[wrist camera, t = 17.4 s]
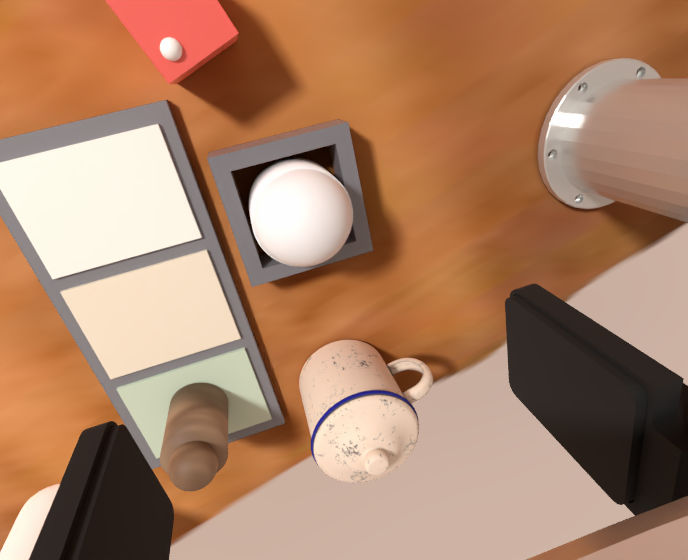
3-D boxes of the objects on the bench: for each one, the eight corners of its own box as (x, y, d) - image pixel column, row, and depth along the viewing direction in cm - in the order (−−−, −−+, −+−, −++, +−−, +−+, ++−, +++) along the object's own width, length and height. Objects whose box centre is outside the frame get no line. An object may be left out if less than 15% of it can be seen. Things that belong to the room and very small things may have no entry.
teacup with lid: (322, 426, 45) (350, 528, 35) (278, 366, 41) (296, 461, 31) (423, 370, 45) (481, 454, 35) (390, 304, 41) (445, 377, 31)
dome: (328, 146, 32) (353, 161, 26) (348, 233, 35) (374, 266, 29) (235, 171, 31) (238, 193, 25) (264, 258, 34) (272, 296, 28)
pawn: (219, 375, 38) (215, 449, 31) (235, 417, 41) (235, 496, 33) (161, 392, 38) (143, 471, 30) (180, 433, 40) (168, 517, 32)
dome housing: (338, 119, 33) (348, 122, 31) (363, 238, 38) (373, 250, 35) (208, 152, 32) (207, 158, 29) (250, 272, 37) (252, 287, 34)
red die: (186, -38, 27) (177, -64, 22) (236, 40, 30) (238, 32, 25) (122, 10, 28) (99, -6, 23) (177, 83, 30) (167, 84, 25)
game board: (167, 99, 30) (165, 100, 29) (284, 417, 43) (285, 425, 43) (-33, 147, 28) (-42, 149, 27) (152, 462, 42) (151, 471, 41)
